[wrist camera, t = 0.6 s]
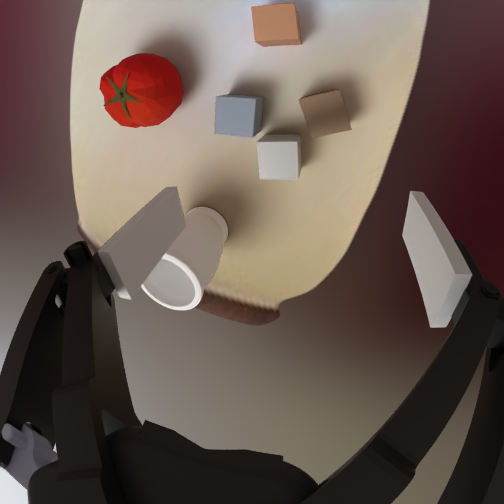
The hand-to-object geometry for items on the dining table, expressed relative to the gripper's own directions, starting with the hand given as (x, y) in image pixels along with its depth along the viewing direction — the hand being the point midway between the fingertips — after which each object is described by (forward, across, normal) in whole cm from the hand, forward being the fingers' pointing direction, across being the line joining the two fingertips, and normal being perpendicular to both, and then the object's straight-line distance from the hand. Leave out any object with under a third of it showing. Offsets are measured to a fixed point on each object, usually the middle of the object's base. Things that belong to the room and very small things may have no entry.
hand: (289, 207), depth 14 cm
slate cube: (+25, -9, +2) cm, 26 cm away
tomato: (+25, -22, +8) cm, 34 cm away
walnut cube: (+25, +2, +2) cm, 25 cm away
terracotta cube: (+25, -3, +14) cm, 29 cm away
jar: (+24, -18, -16) cm, 35 cm away
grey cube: (+25, -4, -4) cm, 25 cm away
